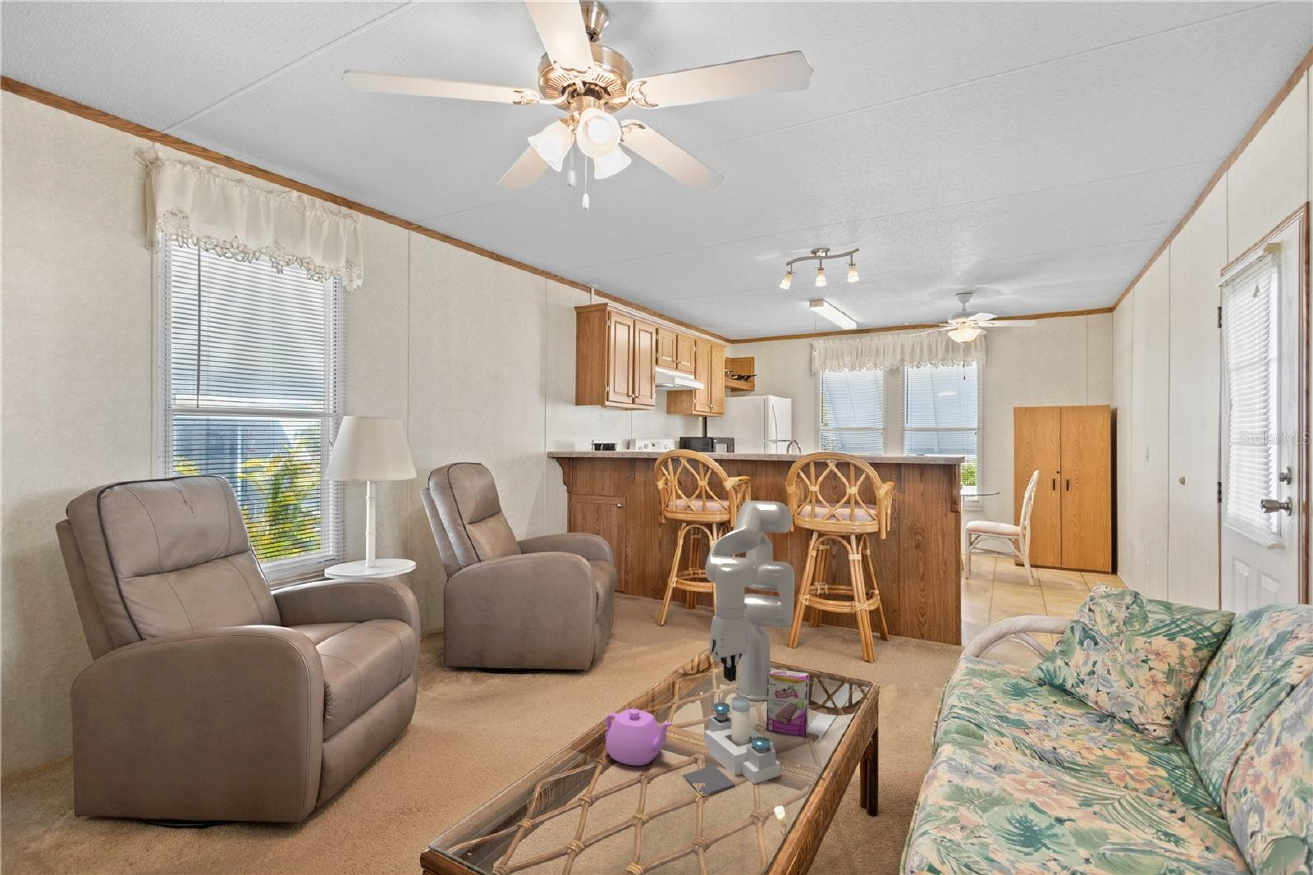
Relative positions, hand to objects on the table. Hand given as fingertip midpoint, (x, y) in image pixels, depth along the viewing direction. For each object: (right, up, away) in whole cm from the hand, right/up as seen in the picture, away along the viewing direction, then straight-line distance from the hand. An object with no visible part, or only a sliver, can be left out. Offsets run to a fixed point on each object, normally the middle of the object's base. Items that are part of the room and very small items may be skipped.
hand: (729, 679), depth 162 cm
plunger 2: (+6, -15, -12) cm, 20 cm away
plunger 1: (-2, -13, +3) cm, 14 cm away
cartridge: (+2, -19, -4) cm, 19 cm away
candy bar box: (+17, -19, +10) cm, 27 cm away
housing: (+2, -19, -4) cm, 19 cm away
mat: (-7, -19, -15) cm, 25 cm away
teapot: (-24, -19, -4) cm, 31 cm away
